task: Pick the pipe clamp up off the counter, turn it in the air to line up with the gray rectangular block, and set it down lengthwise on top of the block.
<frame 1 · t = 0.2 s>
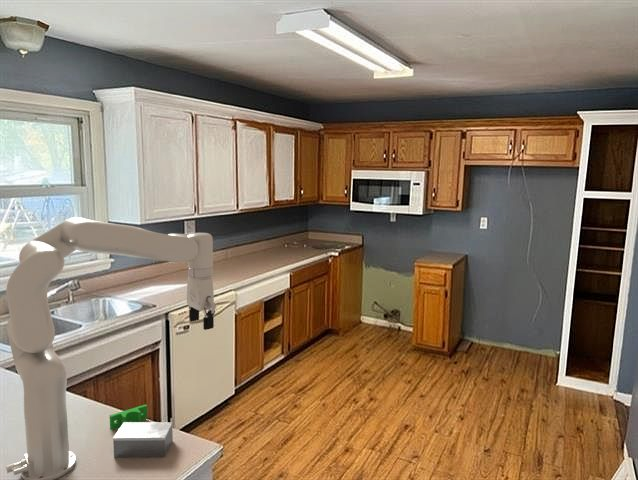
hand: (201, 324, 149), 31 cm above the worktop, tool pointing down, fingers open, 9 cm apart
gray rectangular block: (144, 449, 134), on the worktop
pipe clamp: (130, 425, 146), on the worktop
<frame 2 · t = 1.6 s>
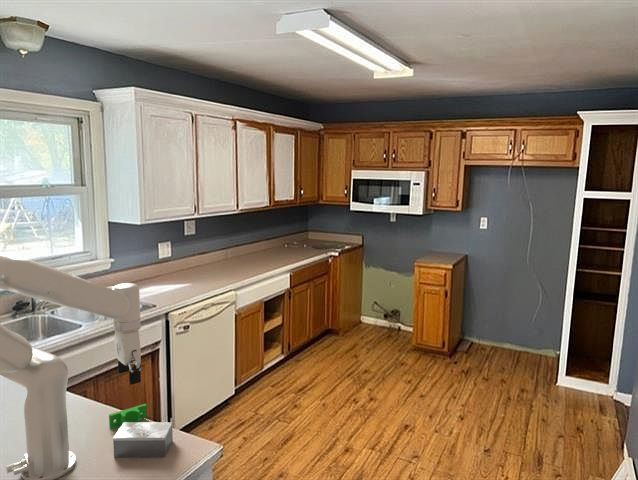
hand: (129, 377, 144), 16 cm above the worktop, tool pointing down, fingers open, 9 cm apart
nothing on the worktop moved.
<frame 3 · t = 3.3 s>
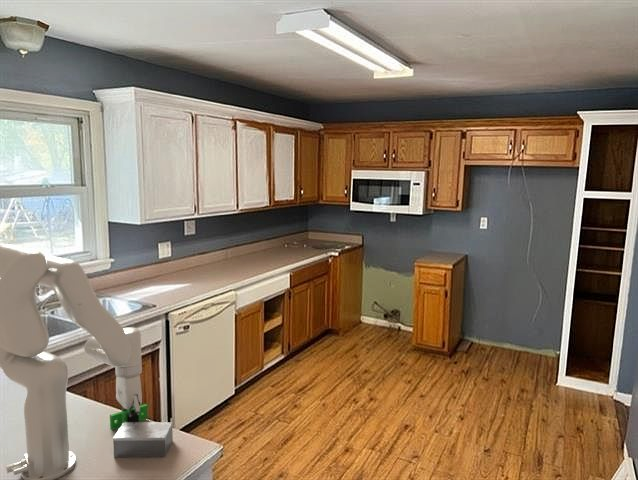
hand: (130, 423, 146), 1 cm above the worktop, tool pointing down, fingers open, 3 cm apart
nothing on the worktop moved.
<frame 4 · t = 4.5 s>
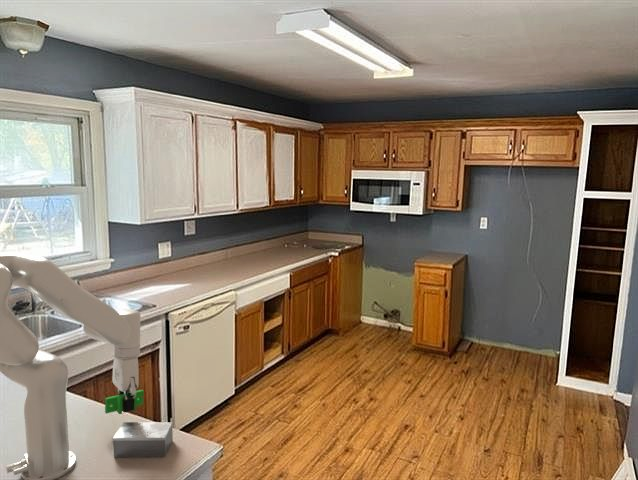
hand: (125, 407, 144), 6 cm above the worktop, tool pointing down, fingers closed on pipe clamp, 3 cm apart
pipe clamp: (125, 410, 144), point 6 cm above the worktop, touching gripper
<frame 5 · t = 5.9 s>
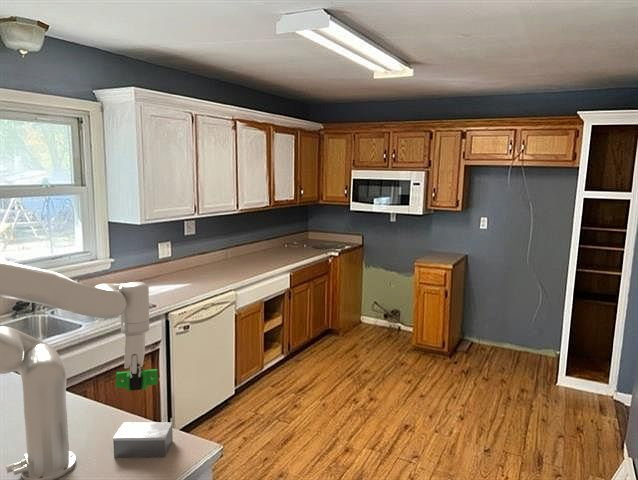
hand: (136, 385, 136), 17 cm above the worktop, tool pointing down, fingers closed on pipe clamp, 3 cm apart
pipe clamp: (136, 388, 136), point 16 cm above the worktop, touching gripper
when the fingers open (7 cm above the worktop, at t = 8.4 s): pipe clamp stays where it is, resting on gray rectangular block.
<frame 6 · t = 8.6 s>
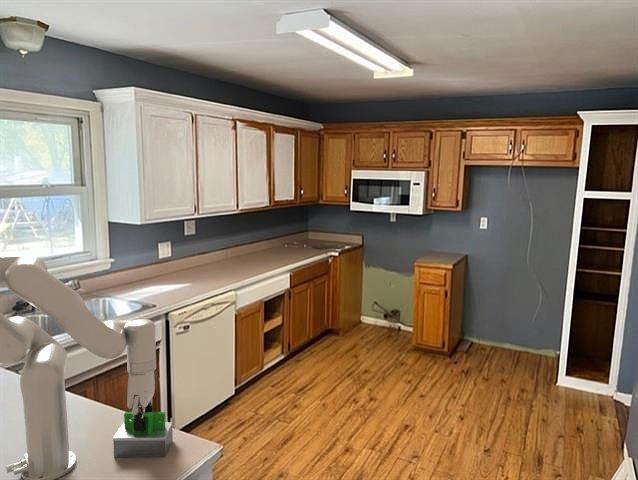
hand: (143, 424, 133), 8 cm above the worktop, tool pointing down, fingers open, 5 cm apart
pipe clamp: (143, 430, 133), point 6 cm above the worktop, touching gray rectangular block
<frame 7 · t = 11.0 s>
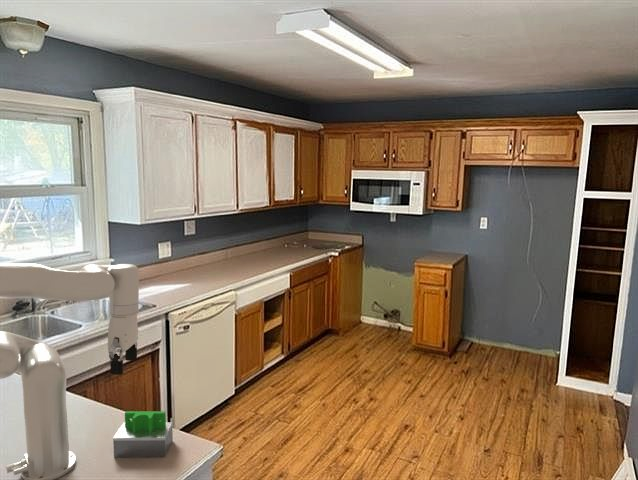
hand: (124, 366, 133), 24 cm above the worktop, tool pointing down, fingers open, 9 cm apart
nothing on the worktop moved.
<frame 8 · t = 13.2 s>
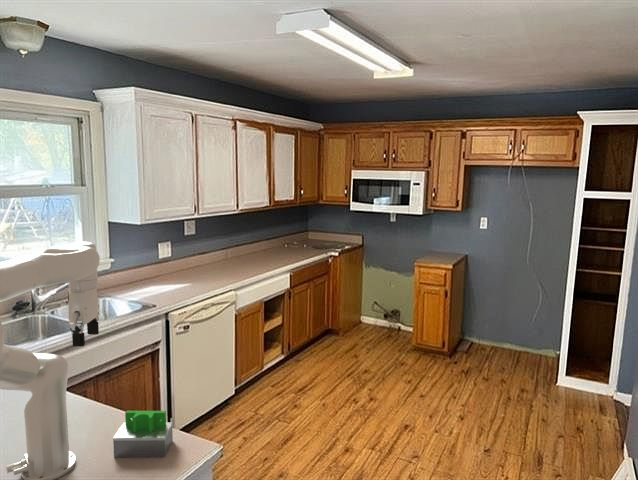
hand: (86, 339, 140), 28 cm above the worktop, tool pointing down, fingers open, 9 cm apart
nothing on the worktop moved.
at the end: pipe clamp inside the target area on the gray rectangular block (0.7 cm from its centre), point 5.8 cm above the gray rectangular block's base; pipe clamp tilted 0°; the gripper is holding nothing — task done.
